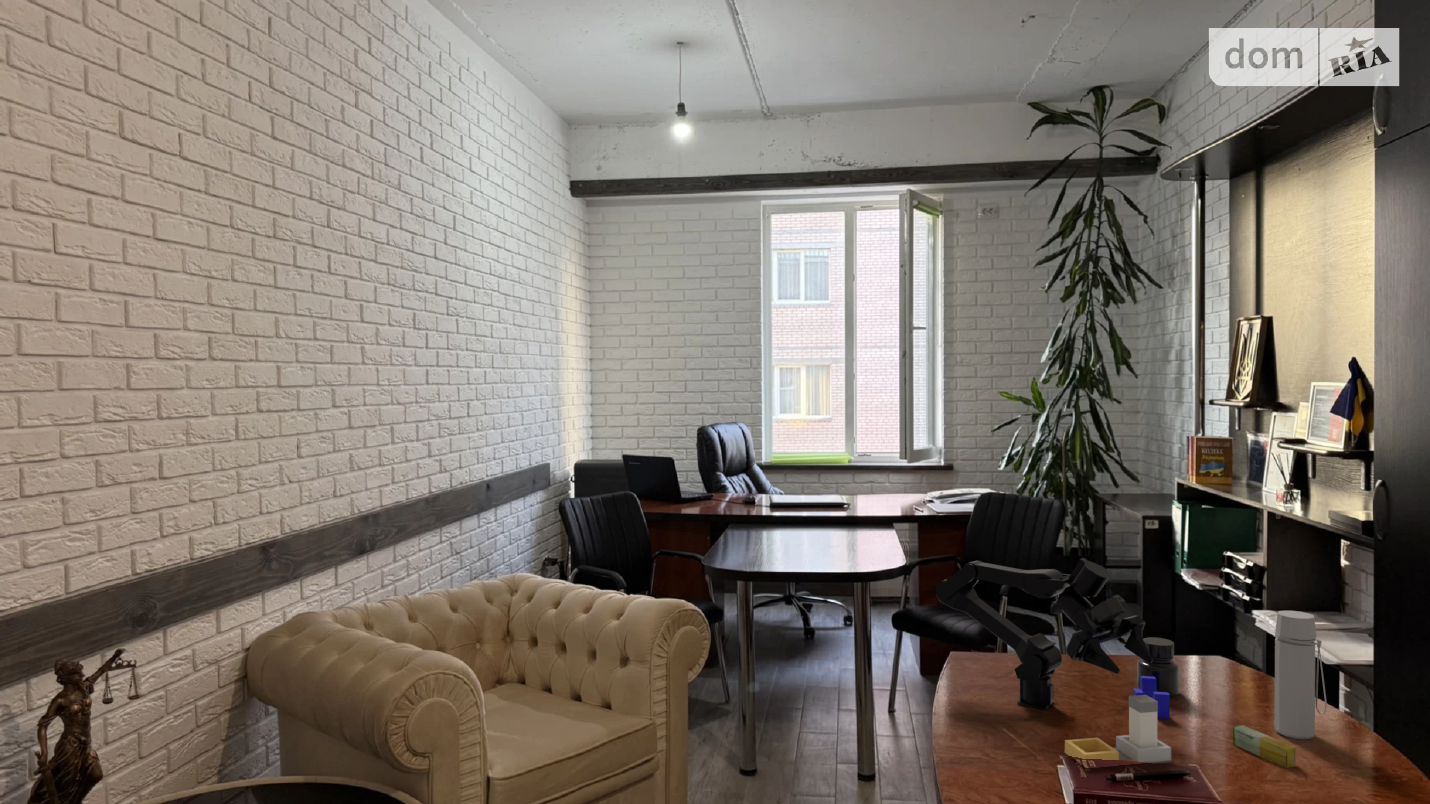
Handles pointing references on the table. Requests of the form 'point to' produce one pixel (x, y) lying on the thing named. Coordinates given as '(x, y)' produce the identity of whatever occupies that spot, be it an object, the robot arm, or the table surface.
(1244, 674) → the table surface
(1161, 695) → the cable clip
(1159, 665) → the ink bottle
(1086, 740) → the socket board
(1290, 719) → the water bottle
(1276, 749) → the medication box
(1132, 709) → the white plug
